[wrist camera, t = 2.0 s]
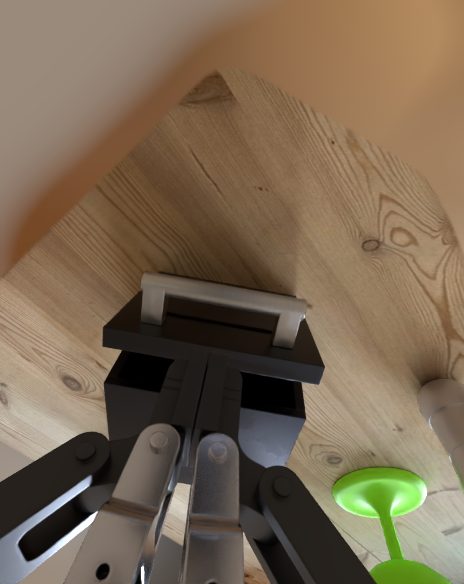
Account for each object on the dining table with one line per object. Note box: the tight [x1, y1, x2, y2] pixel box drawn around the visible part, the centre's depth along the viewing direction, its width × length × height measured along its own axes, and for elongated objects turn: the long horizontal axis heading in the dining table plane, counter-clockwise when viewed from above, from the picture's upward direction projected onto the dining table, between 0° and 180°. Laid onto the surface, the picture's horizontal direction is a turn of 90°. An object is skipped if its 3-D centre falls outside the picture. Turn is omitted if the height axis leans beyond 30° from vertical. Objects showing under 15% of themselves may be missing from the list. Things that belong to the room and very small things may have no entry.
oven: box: [104, 350, 306, 485], centre depth 34 cm, size 13×16×15 cm
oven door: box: [102, 271, 325, 385], centre depth 29 cm, size 5×16×15 cm, turn 81°
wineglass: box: [332, 467, 452, 584], centre depth 48 cm, size 16×16×18 cm
